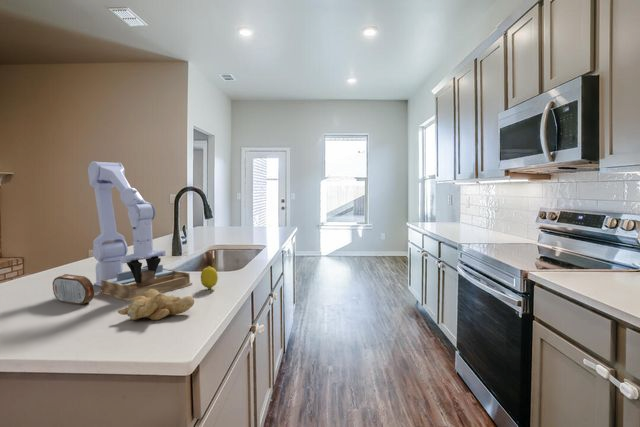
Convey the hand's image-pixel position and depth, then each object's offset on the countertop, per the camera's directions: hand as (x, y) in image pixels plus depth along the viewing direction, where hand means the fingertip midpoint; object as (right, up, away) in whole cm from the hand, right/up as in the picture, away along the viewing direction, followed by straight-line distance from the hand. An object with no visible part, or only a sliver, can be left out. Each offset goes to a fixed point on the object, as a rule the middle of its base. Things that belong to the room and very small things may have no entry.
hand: (144, 281), depth 119 cm
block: (0, -2, 0) cm, 2 cm away
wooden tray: (-2, -4, +6) cm, 7 cm away
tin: (-17, -5, -9) cm, 20 cm away
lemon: (+20, -4, +4) cm, 21 cm away
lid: (-5, 0, +7) cm, 9 cm away
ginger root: (+13, -6, -21) cm, 26 cm away
